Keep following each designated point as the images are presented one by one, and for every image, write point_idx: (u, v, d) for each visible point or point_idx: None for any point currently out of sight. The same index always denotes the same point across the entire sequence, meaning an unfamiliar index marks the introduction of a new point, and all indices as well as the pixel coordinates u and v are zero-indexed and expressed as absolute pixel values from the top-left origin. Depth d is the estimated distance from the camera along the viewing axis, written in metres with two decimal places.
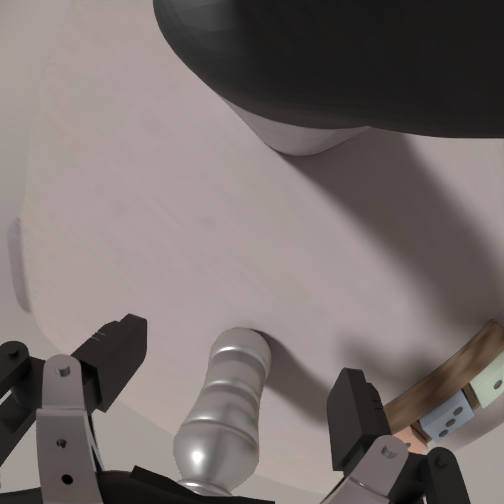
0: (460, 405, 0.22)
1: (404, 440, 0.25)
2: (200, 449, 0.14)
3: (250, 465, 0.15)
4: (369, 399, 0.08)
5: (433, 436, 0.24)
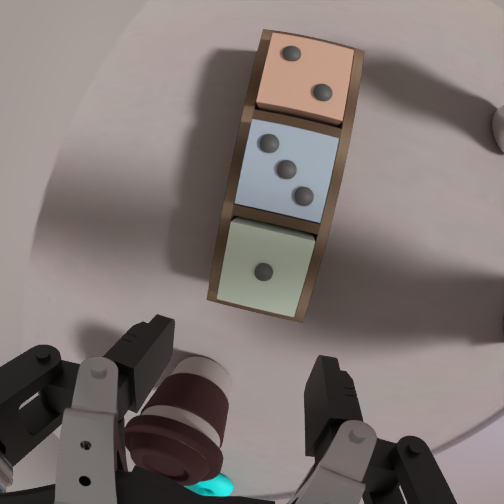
0: (312, 207, 0.20)
1: (342, 104, 0.18)
2: None
3: None
4: (341, 385, 0.08)
5: (285, 129, 0.19)
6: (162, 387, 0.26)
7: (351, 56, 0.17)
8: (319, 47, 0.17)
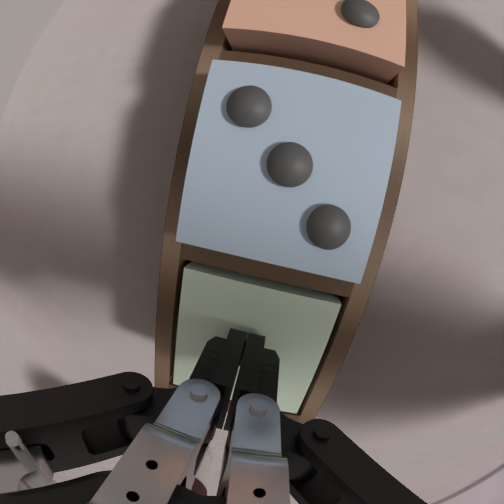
0: (346, 250, 0.09)
1: (399, 37, 0.07)
2: None
3: None
4: (259, 361, 0.09)
5: (284, 76, 0.08)
6: None
7: None
8: None
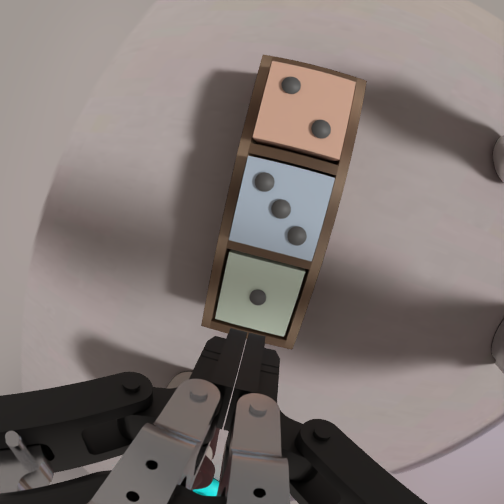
0: (304, 246, 0.21)
1: (340, 141, 0.18)
2: None
3: None
4: (259, 361, 0.09)
5: (281, 167, 0.19)
6: None
7: (352, 89, 0.17)
8: (320, 78, 0.17)
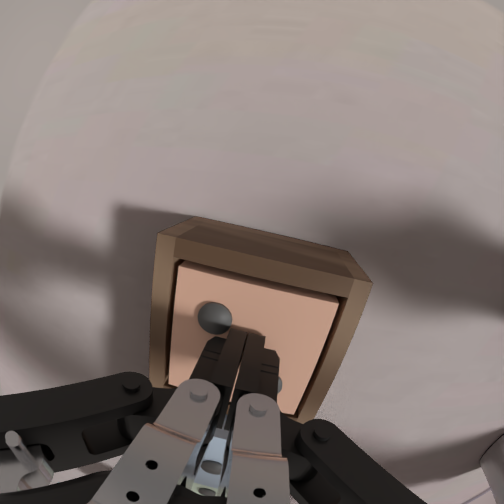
0: None
1: (296, 396, 0.12)
2: None
3: None
4: (259, 361, 0.09)
5: None
6: None
7: (330, 318, 0.11)
8: (268, 303, 0.11)
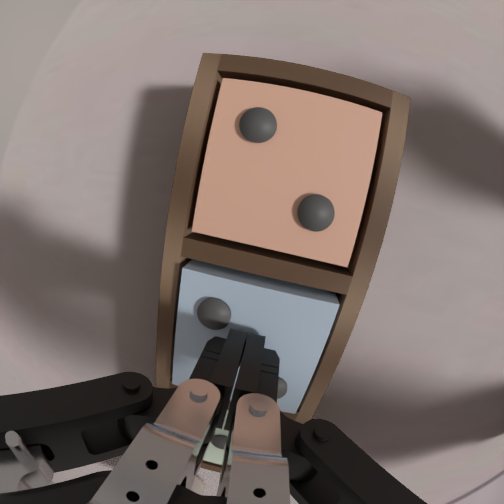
0: (284, 398, 0.12)
1: (350, 234, 0.10)
2: None
3: None
4: (259, 361, 0.09)
5: (241, 290, 0.11)
6: None
7: (377, 127, 0.09)
8: (314, 107, 0.09)
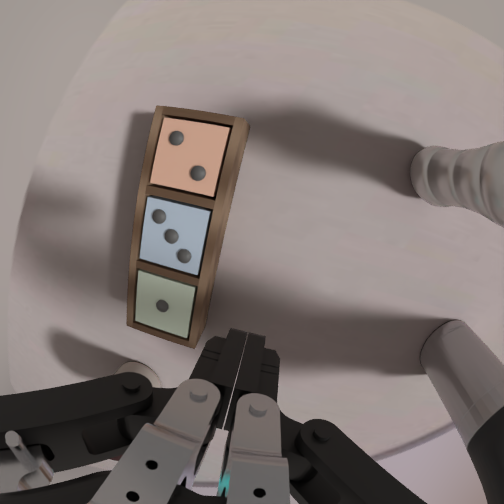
0: (191, 263, 0.27)
1: (213, 182, 0.25)
2: None
3: None
4: (259, 361, 0.09)
5: (169, 205, 0.26)
6: None
7: (226, 134, 0.23)
8: (199, 129, 0.23)
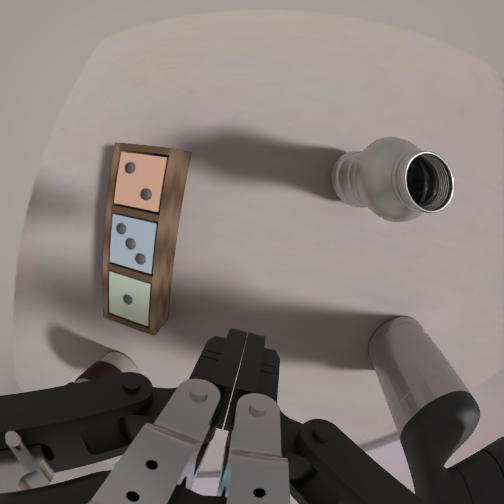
0: (145, 264, 0.33)
1: (157, 200, 0.31)
2: None
3: (378, 207, 0.18)
4: (259, 361, 0.09)
5: (128, 220, 0.32)
6: (88, 369, 0.38)
7: (164, 163, 0.30)
8: (145, 160, 0.30)
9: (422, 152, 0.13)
